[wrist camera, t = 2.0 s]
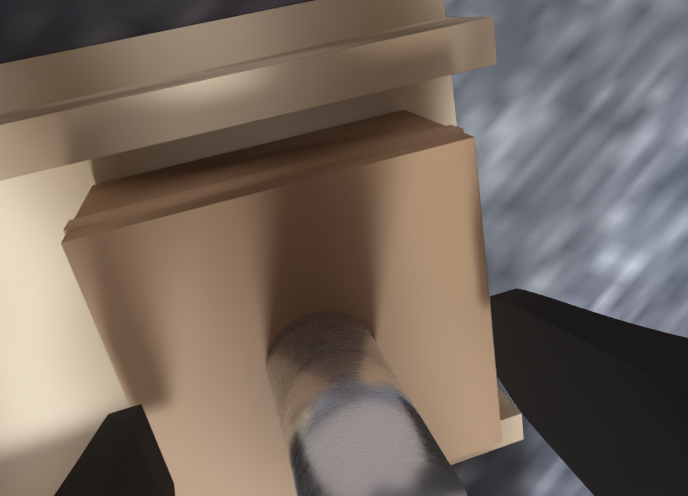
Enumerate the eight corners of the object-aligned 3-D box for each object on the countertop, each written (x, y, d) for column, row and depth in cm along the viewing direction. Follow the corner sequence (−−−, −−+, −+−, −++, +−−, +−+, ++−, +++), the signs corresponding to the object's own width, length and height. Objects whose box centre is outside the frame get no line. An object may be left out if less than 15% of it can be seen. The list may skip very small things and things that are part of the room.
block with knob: (188, 442, 17) (194, 793, 9) (89, 183, 14) (-31, 394, 6) (440, 360, 18) (630, 608, 11) (405, 107, 15) (644, 197, 7)
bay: (-125, 599, 17) (-192, 726, 14) (-471, 159, 12) (-708, 209, 9) (473, 397, 21) (525, 464, 18) (425, -23, 15) (490, -34, 12)
